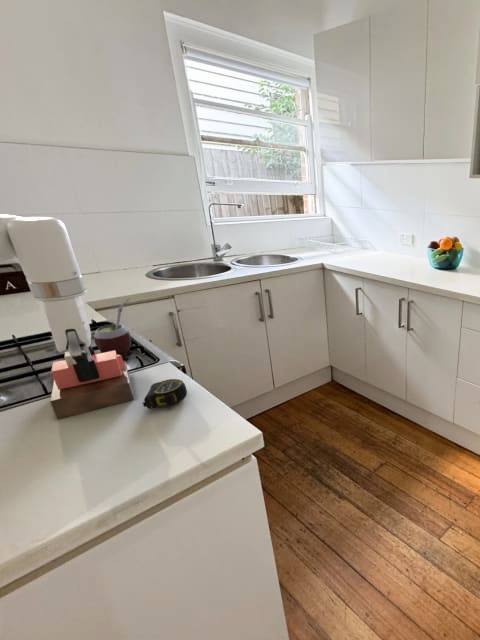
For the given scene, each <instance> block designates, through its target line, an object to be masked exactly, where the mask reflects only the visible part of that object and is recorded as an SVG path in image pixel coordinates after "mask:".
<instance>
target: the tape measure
mask: <svg viewBox="0 0 480 640" xmlns="http://www.w3.org/2000/svg"><path fill="white" fill-rule="evenodd" d="M187 394H188V389H187V387H186V384H185V382H184V381H183V380H182V379H177V378H169V379H165V380H162V381H158V382H156V383H155V382H154V383H153V384H151V386H150V387H149V390H148V392H147V394H146V396H144V399H143V402H141V404H142V406H143V407H145V408H147V409H149V410H152V409H156V408H165V407H171V406H174V405H176V404H179V403H181V402H182V401H183V400H184V399H186V397H187Z"/></svg>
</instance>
